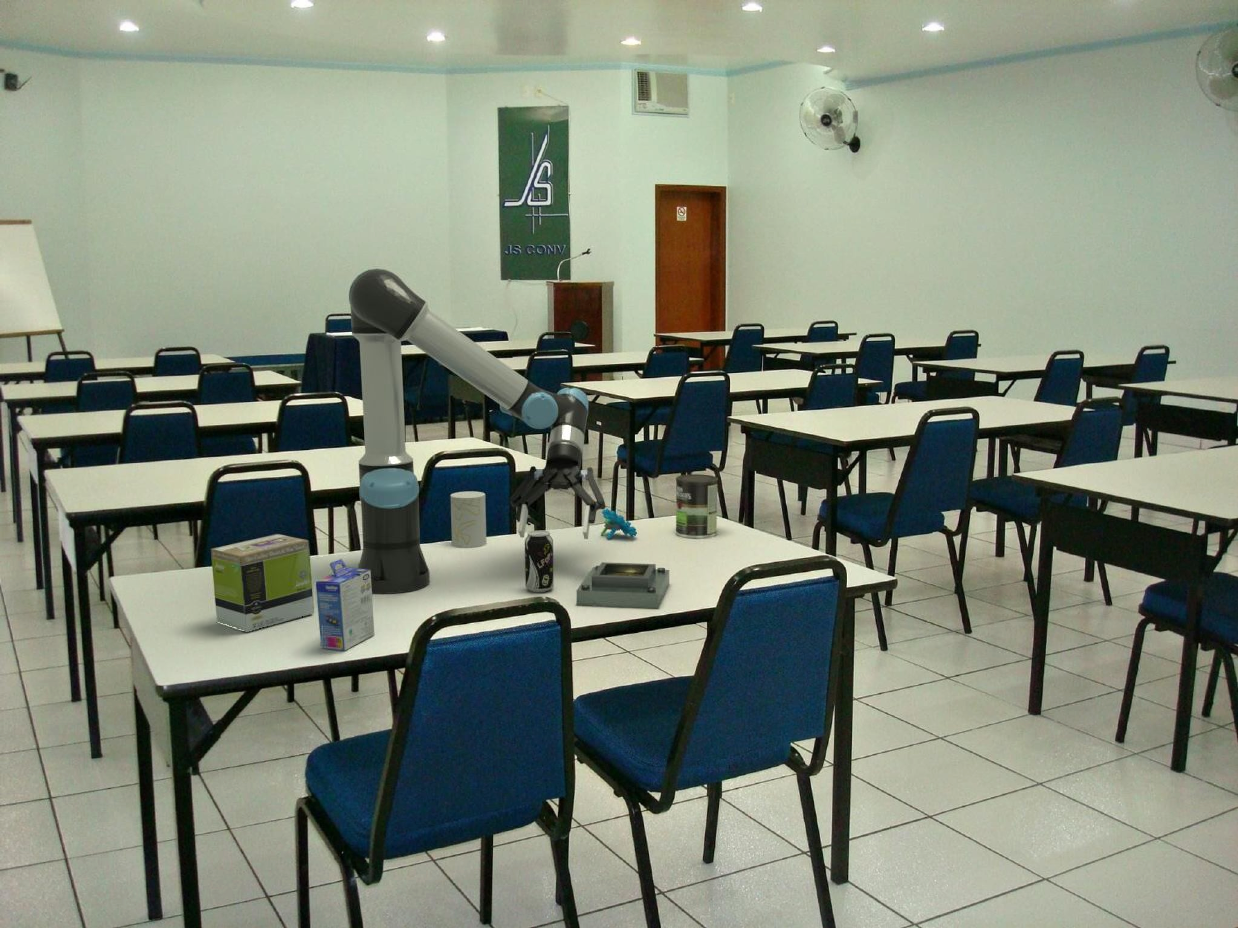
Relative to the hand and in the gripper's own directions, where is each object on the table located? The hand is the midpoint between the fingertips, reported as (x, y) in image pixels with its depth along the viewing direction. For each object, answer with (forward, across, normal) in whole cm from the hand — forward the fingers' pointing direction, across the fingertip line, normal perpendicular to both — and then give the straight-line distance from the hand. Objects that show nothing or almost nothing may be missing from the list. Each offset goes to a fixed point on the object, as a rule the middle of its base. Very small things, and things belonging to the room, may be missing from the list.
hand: (553, 535), depth 241 cm
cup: (-14, +27, -30) cm, 42 cm away
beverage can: (+12, +2, -3) cm, 12 cm away
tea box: (+30, +49, +16) cm, 59 cm away
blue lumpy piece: (-22, -7, -38) cm, 44 cm away
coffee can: (-26, -26, -42) cm, 56 cm away
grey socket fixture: (+12, -16, -2) cm, 20 cm away
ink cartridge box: (+37, +28, +24) cm, 53 cm away
